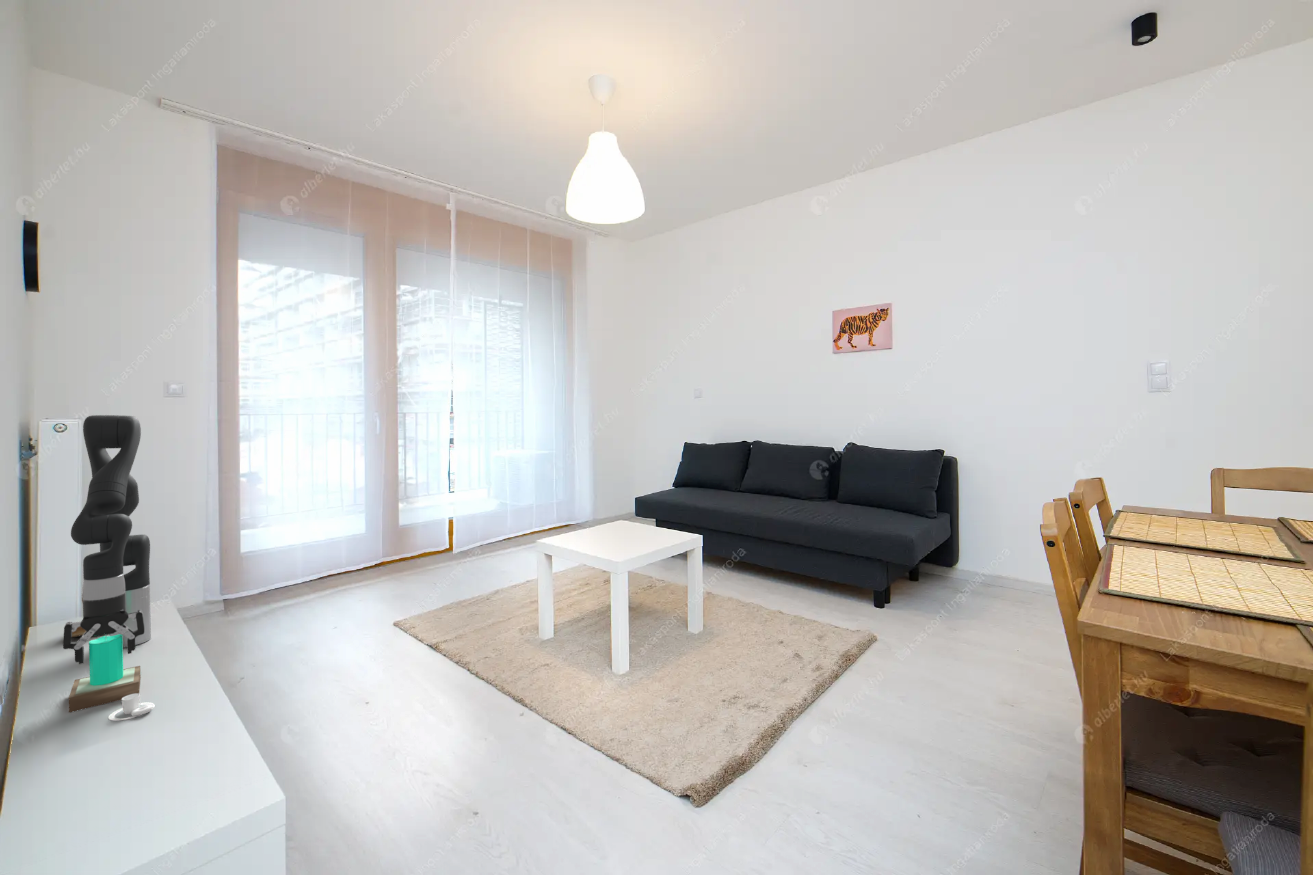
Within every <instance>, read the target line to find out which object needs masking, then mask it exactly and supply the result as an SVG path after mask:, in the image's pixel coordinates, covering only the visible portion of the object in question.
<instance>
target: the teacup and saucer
mask: <svg viewBox="0 0 1313 875" xmlns="http://www.w3.org/2000/svg"><path fill="white" fill-rule="evenodd" d="M140 701H141V694H140V693H139V694H138V693H136V694H130V695H127V696H125V697H123V698H122V700H121V704H122V705H121V706H122V707H120V708H118V709H117V710H116V709H115V711H113V712H112V713H110V714H109V715H108V717H107V719H108V720H109V721H114V722H119V721H120V722H121V721H126V720H131V719H134V718H137V717H140V716H143V715H145V714H147V713H149V712H151V711H152V710H153V709H154V708H155V703H153V702H150V701H149V702H148V701H147V702H146V701H145V702H140ZM122 711H123V713H124V715H131V716H129V717H124V718H118V717H116V714H118V713H120V712H122Z"/></svg>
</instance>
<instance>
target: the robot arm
mask: <svg viewBox="0 0 1313 875" xmlns="http://www.w3.org/2000/svg"><path fill="white" fill-rule="evenodd" d="M82 431H83V432H82V433H83V438H84V443H85V447H86V452H87V456H88V460H89V465H90V469H91V477H92V478H91V480H90V482H89V485H88V491H87V496H86V501H85V503H84V506H83V508H82V510H81V512H80V513H79V514H78V516H77V517H76V519H75V521H73V524H72V526H71V529H70V536H71V539H72V540H73V542H75V543H76V544H78V545H82V546H84V545H85V546H86V545H89V546H90V545H97V544H99V551H98V552H94V553H90V554H88V555H86V556H85V557H84V558H83V560H82V568H83V569H82V570H83V571H82V573H83V575H82V576H83V581H82V582H83V583H82V589H81V590H82V591H81V592H82V593H81V599H82V598H83V603H82V619H81V621H74V622H72V621H67V622H66V623H65V625H64V627H63V643H62V648H63V650H73V651H74V661H75V663H78V665H81V664H84V662H85V652H84V651H85V650H84V649H85V648H84V645H85V644H86V643H87V642H89V641H90V638H92V637H103V636H105V634H106V635H108V636H114V635H118V634H120V635H123V648H127V655H129V654H132V652H134V651H135V650H136V646H137V645H140V644H143V643H145V642H148V641H149V640H151V639H152V625H151V624H152V622H151V620H152V618H151V617H152V615H151V614H152V613H151V585H150V584H151V581H150V558H151V557H150V556H151V542H150V538H149V536H148V535H147V534H131V532H132V529H133V521H132V519H131V518H130V516H131V515H132V513H133V512H135V511H136V509H137V507H138V506H139V503H140V495H139V485H138V482H137V480H136V479H135V477H133V476H132V475H131V474H130V473H131V471H132V467H133V465H134V461H135V459H136V455H137V452H138V449H139V445H140V442H141V437H142V436H141V434H142V432H141V431H142V428H141V423H140V421H139V419H138V418H137V417H136V416H134V415H133V416H132V415H117V414H116V415H112V414H111V415H109V414H108V415H107V414H105V415H104V414H99V415H98V414H96V415H94V414H93V415H89V416H87V417H86V418H85V419H84V421H83V424H82ZM107 449H119V451H118V453H117V454H116V455H115V456H114V457H113V458H111V456H110V455H109V453H108V451H107ZM130 566H135V568H133V569H131V571H129V572H127V573H124V567H130ZM79 626H81V627H82V628H83V629H84V630H86V632H85V633H84V634H83V636H80V638H79V639H78V640H77V641H73V640H72V639H73V637H72V632H74V631H76V629H77V628H78V627H79Z"/></svg>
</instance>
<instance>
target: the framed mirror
mask: <svg viewBox="0 0 1313 875" xmlns="http://www.w3.org/2000/svg"><path fill="white" fill-rule="evenodd" d="M141 675H142V674H141V665H137V666H132V667H128V668H123V678H121V679H119V680H118V681H115V682H112V683H109V684H104V685H96V686H93V685H90V676H87V677H83V678H77V679H74V681H73V684H72V687H71V690H70V693H69V696H68V713H69V712H70V713H73V711H74V712H77V710H78V711H82V710H85V708H86V709H89V708H90V709H91V708H93V707H98V706H102V705H106V704H110V703H114V702H118V701H122V698H123V697H125V696H127V695H130V694H136V693H138V694H140V689H141V678H142V677H141ZM81 709H82V710H81Z"/></svg>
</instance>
